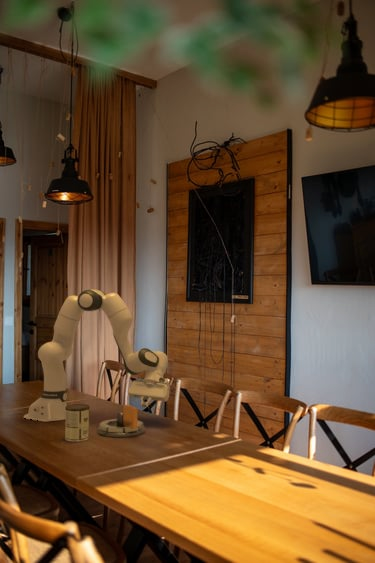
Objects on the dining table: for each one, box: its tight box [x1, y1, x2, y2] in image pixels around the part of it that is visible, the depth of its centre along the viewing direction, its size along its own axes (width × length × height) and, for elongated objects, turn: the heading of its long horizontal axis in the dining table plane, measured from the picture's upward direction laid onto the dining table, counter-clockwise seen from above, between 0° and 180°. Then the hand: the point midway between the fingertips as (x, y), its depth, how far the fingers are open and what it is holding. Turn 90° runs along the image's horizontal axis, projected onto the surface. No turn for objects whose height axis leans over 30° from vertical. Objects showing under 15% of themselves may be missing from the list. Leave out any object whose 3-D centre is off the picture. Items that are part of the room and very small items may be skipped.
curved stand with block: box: [98, 404, 144, 433], centre depth 247 cm, size 22×19×11 cm
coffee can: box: [64, 403, 90, 443], centre depth 235 cm, size 10×10×14 cm
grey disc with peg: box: [96, 411, 146, 439], centre depth 248 cm, size 22×22×8 cm
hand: (144, 406), depth 256 cm, fingers closed
